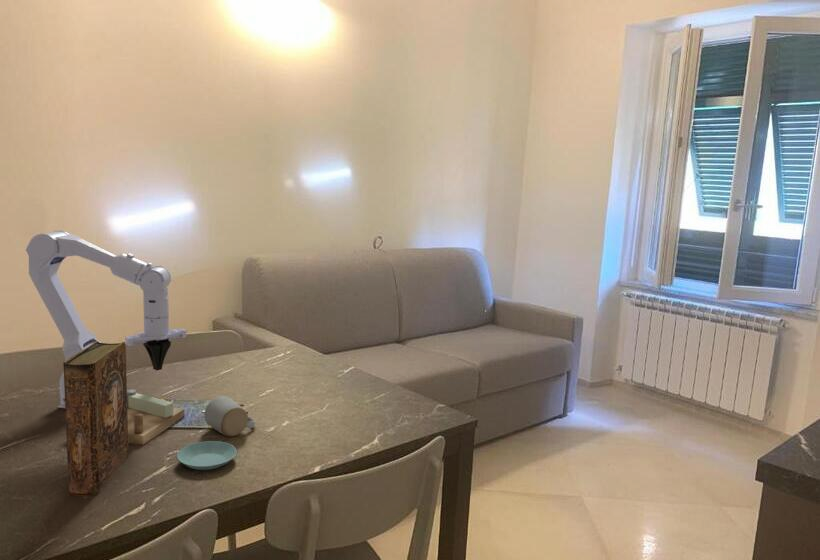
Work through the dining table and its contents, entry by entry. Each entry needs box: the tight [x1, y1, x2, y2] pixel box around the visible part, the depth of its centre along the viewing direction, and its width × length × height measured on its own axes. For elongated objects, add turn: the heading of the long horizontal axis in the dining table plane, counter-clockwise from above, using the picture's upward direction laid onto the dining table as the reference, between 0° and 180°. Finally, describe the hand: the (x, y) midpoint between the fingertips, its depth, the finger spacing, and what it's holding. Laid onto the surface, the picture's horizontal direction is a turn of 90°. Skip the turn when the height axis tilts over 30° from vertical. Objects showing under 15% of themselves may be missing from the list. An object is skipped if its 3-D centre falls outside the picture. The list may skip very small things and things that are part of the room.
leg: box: [127, 389, 174, 418], centre depth 151 cm, size 14×3×4 cm, turn 65°
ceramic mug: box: [203, 395, 256, 437], centre depth 147 cm, size 11×8×8 cm
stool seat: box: [127, 406, 185, 445], centre depth 147 cm, size 17×17×6 cm
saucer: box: [176, 440, 238, 471], centre depth 131 cm, size 12×12×2 cm
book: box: [62, 340, 129, 497], centre depth 121 cm, size 16×6×25 cm, turn 5°
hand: (157, 369), depth 158 cm, fingers closed
